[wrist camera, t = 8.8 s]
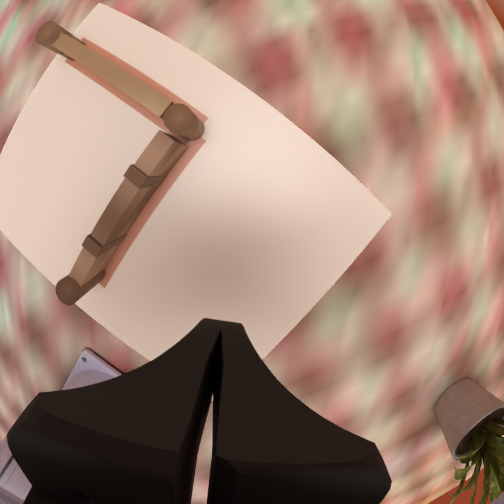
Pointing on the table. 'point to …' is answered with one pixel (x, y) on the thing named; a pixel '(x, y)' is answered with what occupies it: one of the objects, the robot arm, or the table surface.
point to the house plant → (474, 435)
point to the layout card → (180, 196)
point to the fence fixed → (122, 81)
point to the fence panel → (120, 215)
